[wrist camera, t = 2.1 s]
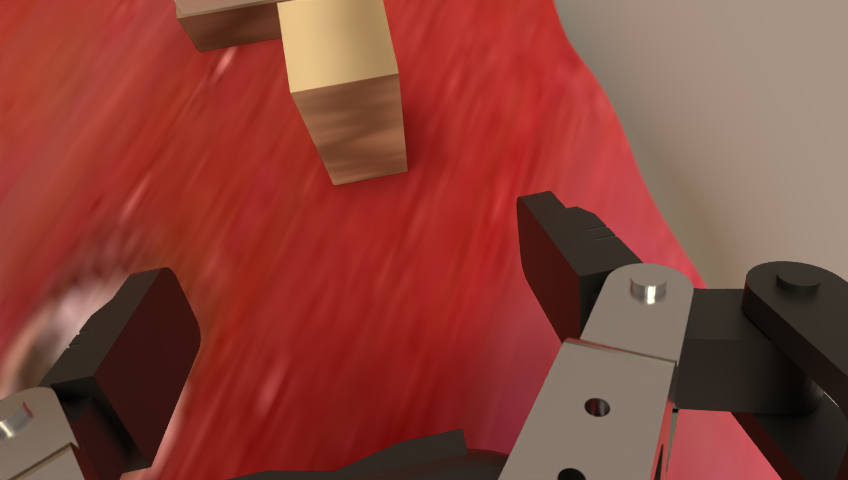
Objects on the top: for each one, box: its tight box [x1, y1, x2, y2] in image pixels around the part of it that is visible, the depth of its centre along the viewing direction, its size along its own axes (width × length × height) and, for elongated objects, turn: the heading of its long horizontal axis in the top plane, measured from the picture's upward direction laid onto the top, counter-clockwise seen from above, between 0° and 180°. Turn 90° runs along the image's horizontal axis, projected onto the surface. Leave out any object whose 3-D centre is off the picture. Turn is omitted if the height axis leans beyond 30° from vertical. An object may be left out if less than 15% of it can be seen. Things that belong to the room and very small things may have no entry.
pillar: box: [277, 0, 408, 185], centre depth 26 cm, size 4×4×10 cm
